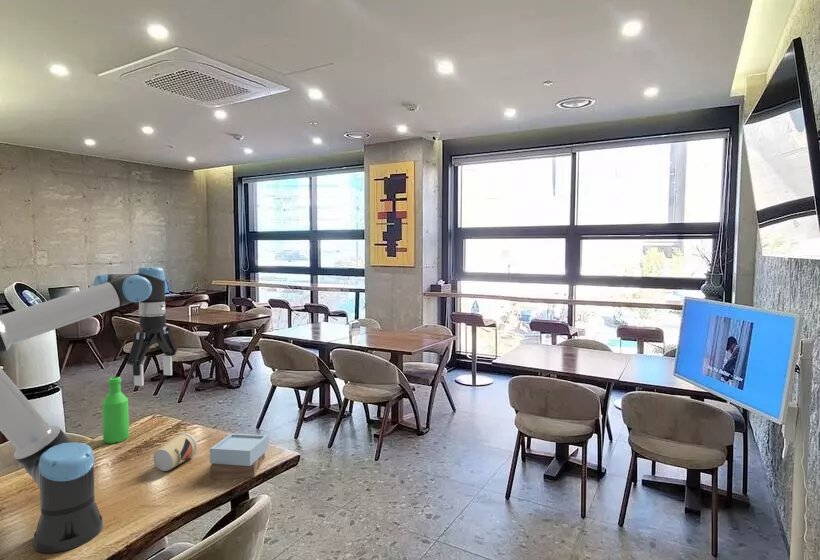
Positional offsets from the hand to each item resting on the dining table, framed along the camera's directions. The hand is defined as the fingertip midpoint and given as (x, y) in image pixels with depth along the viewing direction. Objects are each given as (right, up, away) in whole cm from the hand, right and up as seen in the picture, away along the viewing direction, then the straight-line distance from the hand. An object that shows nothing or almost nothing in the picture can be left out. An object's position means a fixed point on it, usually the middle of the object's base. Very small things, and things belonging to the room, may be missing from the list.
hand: (154, 380), depth 155 cm
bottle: (-33, -31, +34) cm, 57 cm away
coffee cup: (0, -29, +6) cm, 29 cm away
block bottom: (+25, -33, +9) cm, 42 cm away
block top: (+25, -28, +9) cm, 38 cm away
